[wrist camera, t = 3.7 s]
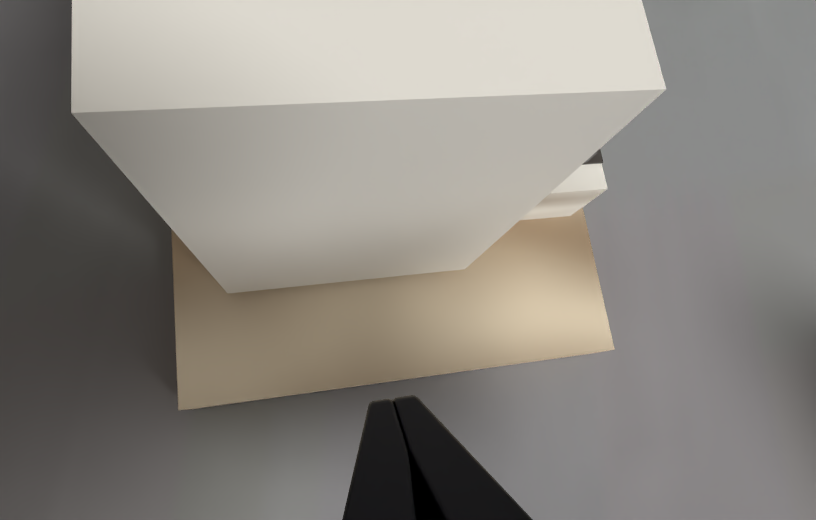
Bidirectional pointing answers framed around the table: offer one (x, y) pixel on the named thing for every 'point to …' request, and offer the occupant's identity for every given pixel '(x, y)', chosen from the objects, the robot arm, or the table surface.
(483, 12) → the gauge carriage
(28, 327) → the table surface
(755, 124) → the table surface
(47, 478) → the table surface
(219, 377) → the base
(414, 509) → the robot arm
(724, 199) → the table surface
